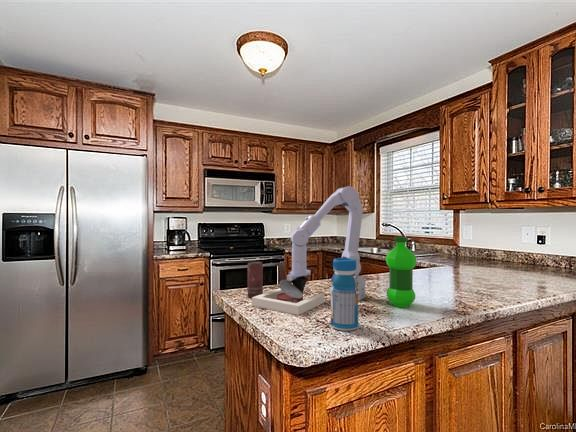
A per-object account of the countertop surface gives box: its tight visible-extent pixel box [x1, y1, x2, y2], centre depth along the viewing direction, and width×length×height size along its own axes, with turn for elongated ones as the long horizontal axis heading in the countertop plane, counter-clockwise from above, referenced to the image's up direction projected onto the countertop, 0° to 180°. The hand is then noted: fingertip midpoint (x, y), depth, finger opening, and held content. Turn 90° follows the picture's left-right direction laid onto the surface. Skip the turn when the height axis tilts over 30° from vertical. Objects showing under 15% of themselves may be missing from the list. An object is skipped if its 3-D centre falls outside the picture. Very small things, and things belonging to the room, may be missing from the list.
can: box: [247, 260, 264, 299], centre depth 130 cm, size 6×6×14 cm
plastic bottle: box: [385, 236, 417, 308], centre depth 117 cm, size 10×10×25 cm
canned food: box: [276, 279, 304, 303], centre depth 120 cm, size 11×10×10 cm
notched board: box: [251, 287, 325, 316], centre depth 119 cm, size 20×18×3 cm
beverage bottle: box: [329, 257, 359, 332], centre depth 95 cm, size 8×8×20 cm
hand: (299, 296), depth 125 cm, fingers closed
